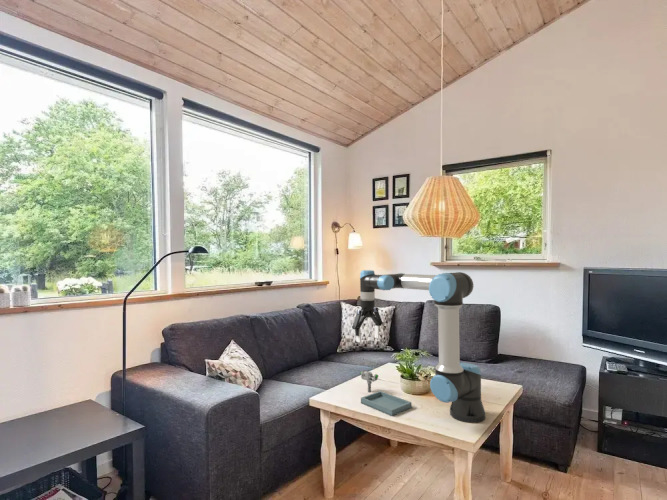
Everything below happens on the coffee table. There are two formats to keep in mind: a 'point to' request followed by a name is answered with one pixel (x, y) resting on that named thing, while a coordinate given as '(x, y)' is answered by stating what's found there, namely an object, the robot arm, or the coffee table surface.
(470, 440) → the coffee table surface
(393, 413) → the parts tray
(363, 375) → the mechanical component
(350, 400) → the coffee table surface
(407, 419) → the coffee table surface
